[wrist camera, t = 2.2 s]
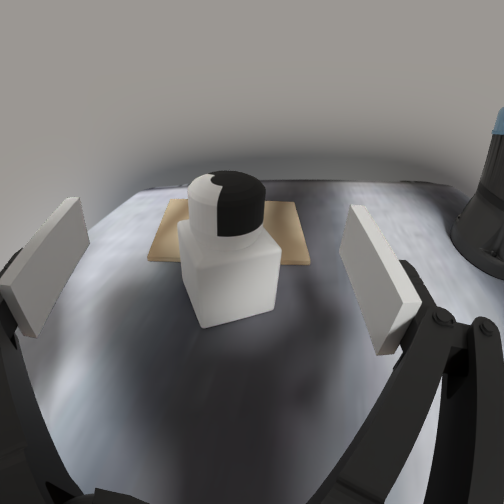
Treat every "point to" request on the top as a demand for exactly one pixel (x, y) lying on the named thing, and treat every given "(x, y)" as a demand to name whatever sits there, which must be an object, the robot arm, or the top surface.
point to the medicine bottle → (228, 249)
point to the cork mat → (275, 222)
